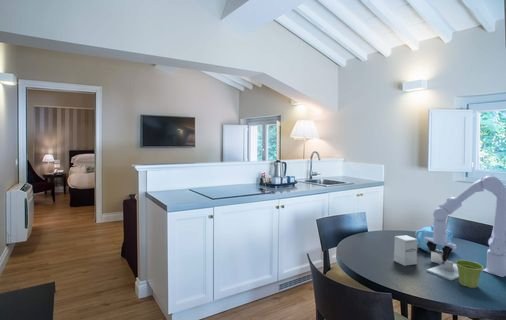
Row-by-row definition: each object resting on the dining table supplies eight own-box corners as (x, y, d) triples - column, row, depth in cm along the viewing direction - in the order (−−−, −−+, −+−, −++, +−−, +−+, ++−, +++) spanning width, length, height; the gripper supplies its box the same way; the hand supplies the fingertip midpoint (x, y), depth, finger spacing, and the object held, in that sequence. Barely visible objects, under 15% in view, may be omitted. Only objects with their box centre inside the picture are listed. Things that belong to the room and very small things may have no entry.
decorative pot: (426, 243, 180) (427, 220, 179) (456, 251, 166) (457, 226, 165) (410, 249, 171) (411, 224, 170) (441, 257, 158) (441, 231, 157)
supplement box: (404, 266, 147) (405, 240, 147) (393, 260, 154) (394, 235, 154) (417, 264, 149) (417, 239, 149) (405, 259, 156) (406, 234, 156)
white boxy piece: (436, 259, 156) (437, 249, 156) (447, 262, 151) (448, 252, 151) (430, 261, 153) (430, 251, 153) (441, 264, 148) (441, 254, 148)
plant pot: (471, 279, 133) (471, 259, 132) (488, 290, 123) (489, 268, 123) (449, 280, 132) (450, 260, 132) (465, 290, 123) (466, 269, 123)
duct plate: (448, 263, 150) (449, 253, 150) (473, 271, 141) (474, 261, 140) (426, 271, 141) (427, 261, 141) (451, 280, 132) (452, 269, 131)
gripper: (420, 229, 156) (420, 255, 156) (450, 237, 143) (449, 265, 144) (429, 227, 159) (428, 253, 160) (459, 235, 146) (458, 262, 147)
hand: (439, 259), depth 152 cm, fingers closed on white boxy piece, 5 cm apart
